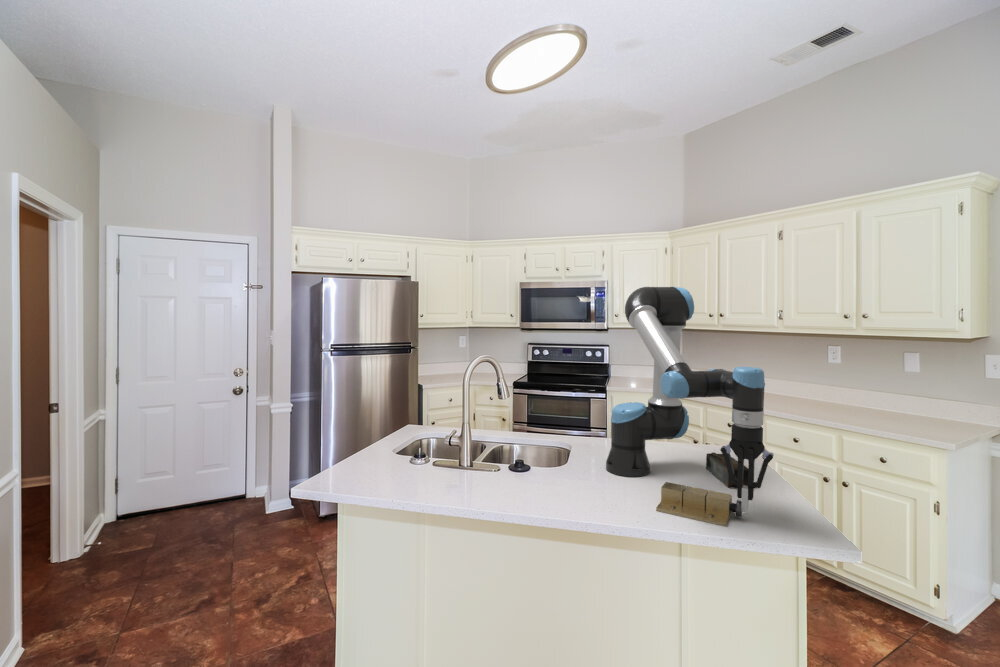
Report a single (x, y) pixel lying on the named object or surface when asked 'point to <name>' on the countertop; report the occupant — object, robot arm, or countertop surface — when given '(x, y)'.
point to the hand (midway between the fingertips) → (744, 510)
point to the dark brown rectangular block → (724, 469)
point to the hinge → (695, 503)
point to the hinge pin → (736, 508)
